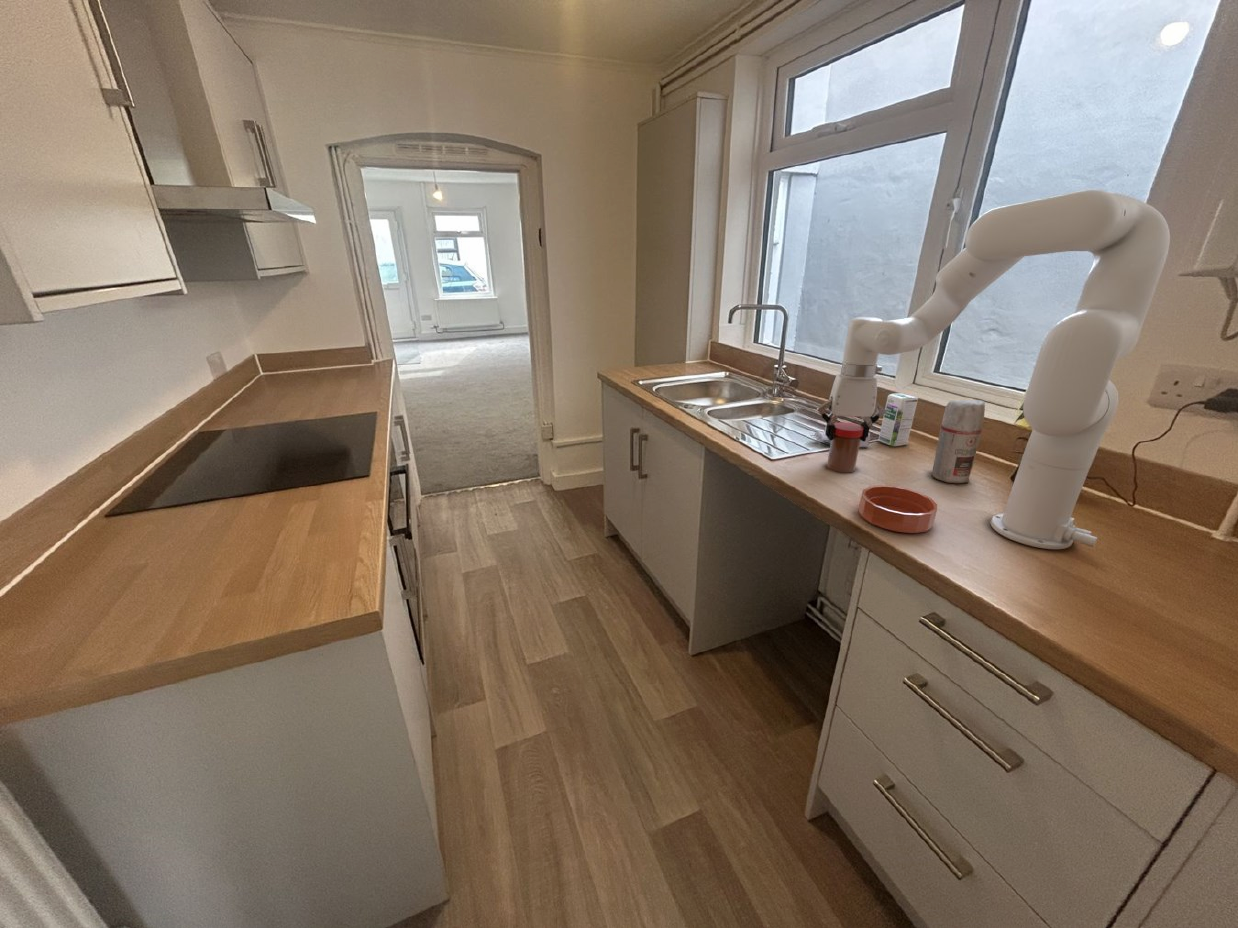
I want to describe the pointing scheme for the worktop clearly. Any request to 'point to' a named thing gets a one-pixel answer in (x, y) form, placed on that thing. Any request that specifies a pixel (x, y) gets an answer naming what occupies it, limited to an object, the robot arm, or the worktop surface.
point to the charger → (822, 438)
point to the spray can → (958, 440)
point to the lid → (848, 430)
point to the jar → (843, 454)
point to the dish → (897, 509)
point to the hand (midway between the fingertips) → (845, 438)
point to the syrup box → (898, 419)
